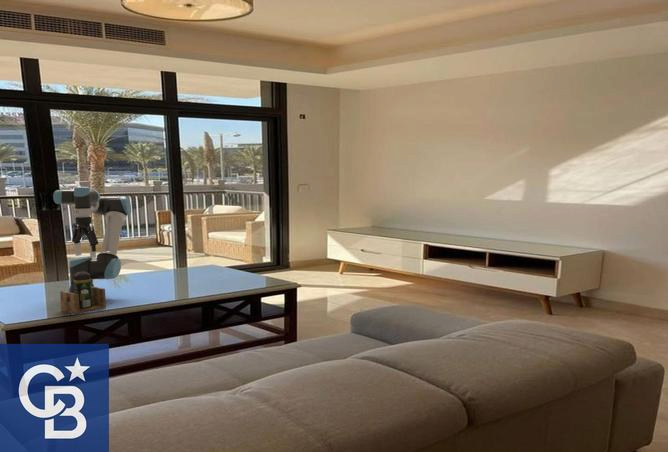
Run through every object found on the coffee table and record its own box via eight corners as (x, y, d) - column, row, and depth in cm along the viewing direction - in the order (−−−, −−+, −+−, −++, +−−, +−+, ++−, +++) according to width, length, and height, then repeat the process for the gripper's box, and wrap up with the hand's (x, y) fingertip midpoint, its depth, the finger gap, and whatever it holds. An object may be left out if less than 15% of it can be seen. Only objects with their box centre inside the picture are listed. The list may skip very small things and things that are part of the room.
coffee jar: (73, 306, 268) (72, 271, 266) (90, 303, 273) (88, 269, 271) (76, 309, 260) (74, 274, 258) (93, 307, 265) (91, 272, 263)
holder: (59, 311, 263) (58, 291, 262) (91, 303, 278) (90, 285, 277) (75, 314, 255) (74, 294, 254) (107, 307, 270) (106, 288, 269)
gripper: (63, 215, 268) (65, 255, 271) (90, 218, 255) (92, 259, 257) (76, 214, 275) (79, 253, 277) (104, 217, 261) (106, 257, 264)
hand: (85, 256), depth 267 cm, fingers open, 13 cm apart
